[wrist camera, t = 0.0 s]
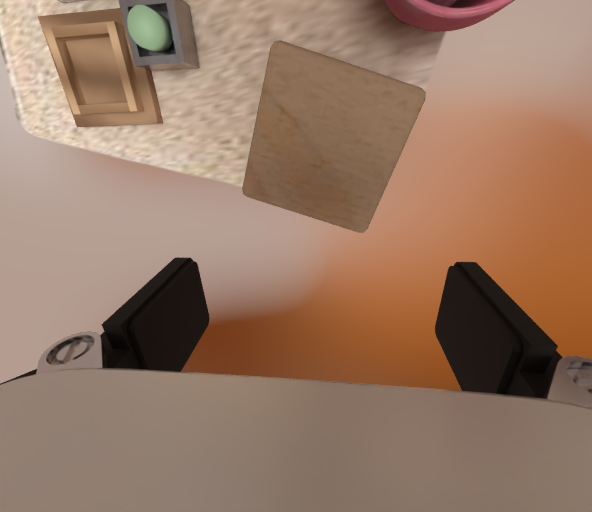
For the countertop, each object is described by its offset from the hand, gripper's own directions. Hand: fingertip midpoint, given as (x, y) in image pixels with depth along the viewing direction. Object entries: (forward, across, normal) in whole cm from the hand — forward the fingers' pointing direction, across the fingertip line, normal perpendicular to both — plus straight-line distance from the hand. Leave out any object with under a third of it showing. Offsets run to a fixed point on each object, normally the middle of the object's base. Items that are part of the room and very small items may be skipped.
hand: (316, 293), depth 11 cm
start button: (+28, +19, -15) cm, 37 cm away
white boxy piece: (+31, +19, -15) cm, 39 cm away
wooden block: (+31, 0, -4) cm, 32 cm away
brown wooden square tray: (+31, +28, -12) cm, 44 cm away
